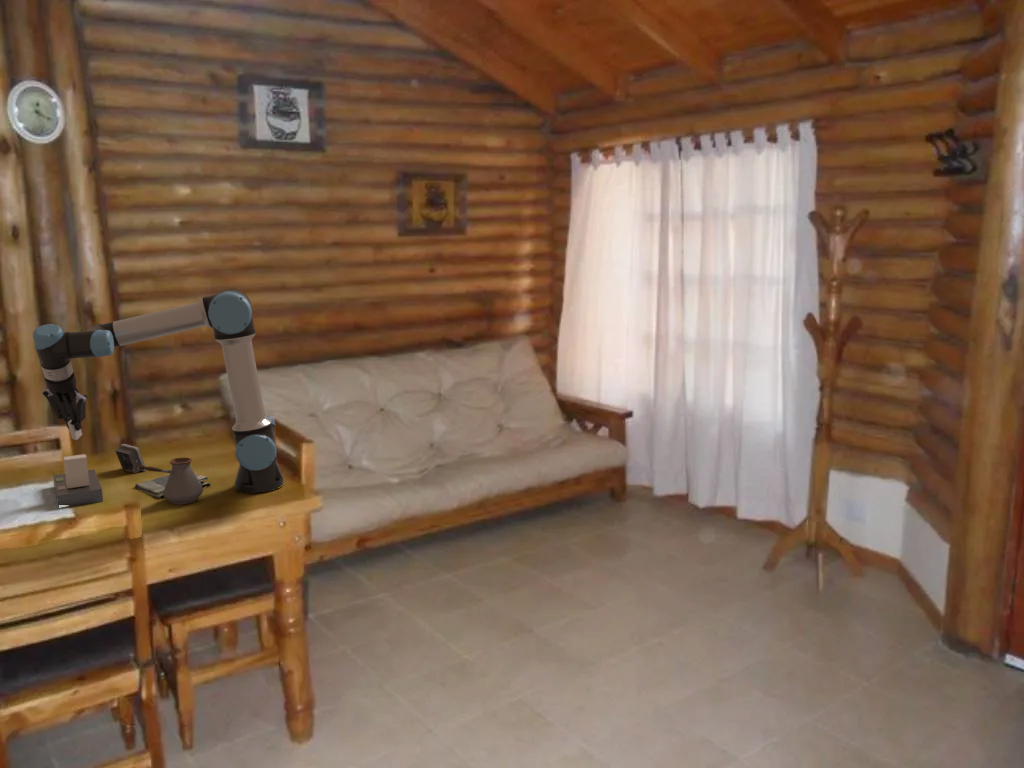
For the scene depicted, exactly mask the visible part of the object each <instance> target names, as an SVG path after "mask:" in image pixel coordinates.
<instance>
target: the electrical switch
mask: <svg viewBox="0 0 1024 768" xmlns="http://www.w3.org/2000/svg"><path fill="white" fill-rule="evenodd" d="M141 453H142V452H141V450H140V448H139V447H137V446H134V445H130V444H126V443H122V444H120V447H119V448H117V449H116V450H115V454H116V456H117V459H118V461H119V463H120V466H121V469H122V471H123V470H124V471H126V472H130V473H134V474H137V473H139V472H141V471H142V472H145V471H147V470H145V469H144V470H142V469H141V468H140V469H139V470H138V468H136V467H135V466H145V467H147V466H146V463H145V461H144V459H143V455H142V454H141ZM134 467H135V468H134ZM133 468H134V471H133ZM137 471H138V472H137ZM135 472H136V473H135Z"/></svg>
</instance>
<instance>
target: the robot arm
mask: <svg viewBox="0 0 1024 768" xmlns="http://www.w3.org/2000/svg"><path fill="white" fill-rule="evenodd" d="M252 305H253V304H252V302H251V299H250V298H249V296H248V295H247V294H246V293H244V292H243V291H241V290H240V289H239V290H238V289H235V288H227V289H223V290H221V291H219V292H217V293H214V294H211V295H208V296H203V297H201V298H200V300H199V301H197V302H192V303H187V304H184V305H181V306H175V307H171V308H167V309H162V310H159V311H153V312H150V313H145V314H142V315H137V316H133V317H128V318H124V319H123V318H122V319H120V320H119V319H118V320H115V321H112V322H106V323H98V324H93V325H91V326H90V327H89V328H88V329H86V330H83V331H82V330H81V331H80V330H79V331H69V332H68V331H66V332H64V331H63V329H62V327H61V326H60V325H57V324H53V323H48V324H43V325H40V326H38V327H36V328H35V329H34V330H33V332H32V340H33V344H34V346H33V347H34V349H35V351H36V354H37V357H38V361H39V363H40V367H41V370H42V373H43V377H44V381H45V385H46V387H47V388H46V389H45V390H44V391H43V392H42V395H43V396H44V397H45V398H46V399H47V401H48V403H49V405H50V407H51V408H52V410H53V412H54V414H55V415H56V417H57V419H59V420H61V419H62V420H63V421H64V422H65V424H66V427H67V429H68V430H69V432H70V436H71V440H74V441H77V440H79V439H80V438H81V436H82V435H83V432H82V428H83V427H82V424H81V423H82V422H83V421H84V420H85V419H86V416H87V415H86V414H87V412H86V409H87V408H86V407H87V404H86V403H87V400H88V398H89V396H88V395H87V394H83V395H82V394H81V393H79V392H80V391H79V389H78V388H77V379H76V377H75V376H76V375H75V372H74V368H73V365H72V362H71V360H73V359H84V358H102V357H110V356H112V355H113V354H114V350H115V348H118V347H122V346H125V345H131V344H135V343H140V342H143V341H147V340H152V339H156V338H160V337H164V336H168V335H169V336H170V335H173V334H177V333H178V334H179V333H182V332H187V331H190V330H194V329H198V328H202V327H203V328H204V327H207V328H210V329H212V331H213V332H212V333H213V336H214V341H215V342H217V343H219V344H220V345H221V349H222V353H223V354H222V355H223V359H224V365H225V370H226V375H227V379H228V380H227V382H228V385H229V391H230V395H231V400H232V406H233V412H234V417H235V423H234V424H233V426H232V435H233V440H234V445H235V451H234V454H235V458H236V461H237V462H238V464H239V465H238V470H237V473H236V477H235V480H234V487H235V490H236V491H237V490H238V491H237V492H239V491H240V493H243V492H247V493H246V494H258V493H257V492H263V493H266V492H265V491H269V492H271V491H270V490H273V489H276V488H278V487H280V486H281V485H283V483H284V476H283V474H282V472H281V469H280V466H279V464H278V457H277V456H278V455H277V454H278V447H277V439H276V437H277V436H276V423H275V419H274V417H272V416H267V415H266V412H265V408H264V407H265V406H264V401H263V395H262V391H261V385H260V384H261V383H260V381H259V380H260V379H259V373H258V369H257V364H256V357H255V352H254V347H253V341H252V340H253V338H254V337H255V335H256V334H257V333H256V328H255V322H254V317H253V306H252ZM284 484H285V483H284ZM283 486H284V485H283ZM276 490H277V489H276ZM273 491H274V490H273Z"/></svg>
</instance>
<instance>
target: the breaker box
mask: <svg viewBox="0 0 1024 768" xmlns="http://www.w3.org/2000/svg"><path fill="white" fill-rule="evenodd" d="M88 476H89V485H88V486H81V487H74V488H67V484H66V475H65V472H63V473H57V474H52V477H53V486H54V487H55V488H54V491H55V497H56V496H57V497H56V502H57V501H58V502H57V505H69V506H71V507H76V506H82V505H89V504H95V503H101V502H104V498H103V497H104V496H103V488H102V486H101V483H100V480H99V478H98V476H97V473H96V470H95V468H94V469H88Z"/></svg>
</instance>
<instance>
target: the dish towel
mask: <svg viewBox="0 0 1024 768" xmlns="http://www.w3.org/2000/svg"><path fill="white" fill-rule="evenodd" d="M194 474H195V475H196V477H197V479H198V481H199V482H200V484H201V486H202V488H203V487H205V486H210V487H211V486H212V485H211V482H204V481H208V480H209V477H208V476H205V475H200V474H196V473H194ZM169 475H170V474H168V475H163V476H160V477H156V478H153V479H149V480H145V481H141V482H139V483H135V485H134V488H135V489H138V490H140V491H142V492H143V493H145V494H147V495H150V496H151V495H152V497H153V498H157V499H159V500H161V499H165V498H164V496H163V492H164V489H165V486H166V484H167V481H168V478H169ZM203 489H204V488H203Z"/></svg>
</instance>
